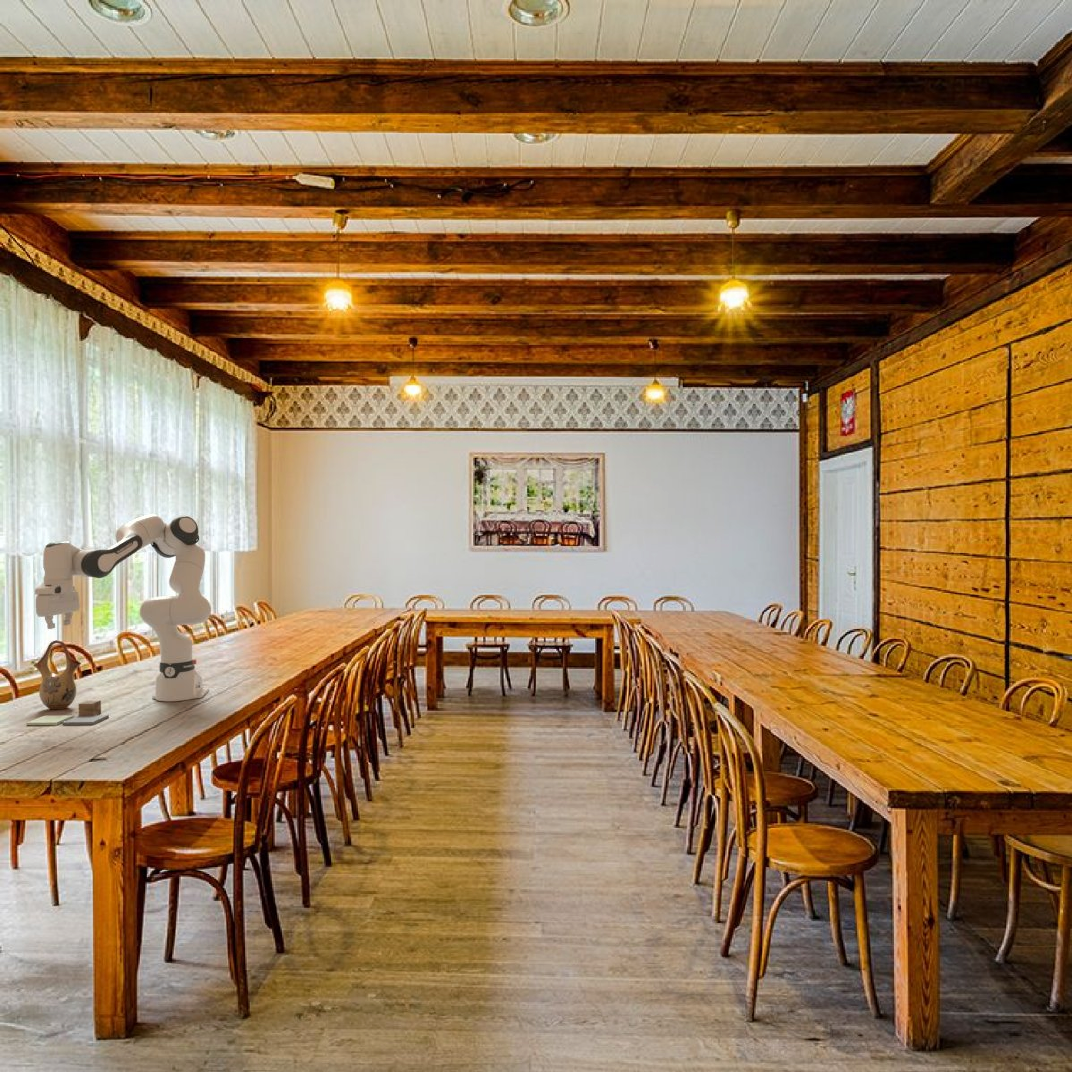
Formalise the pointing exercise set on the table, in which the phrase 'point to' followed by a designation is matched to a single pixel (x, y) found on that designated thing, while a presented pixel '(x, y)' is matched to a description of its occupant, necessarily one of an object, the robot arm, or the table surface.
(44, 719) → the pad
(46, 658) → the ceramic vessel
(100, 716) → the pad
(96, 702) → the walnut block
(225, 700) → the table surface
